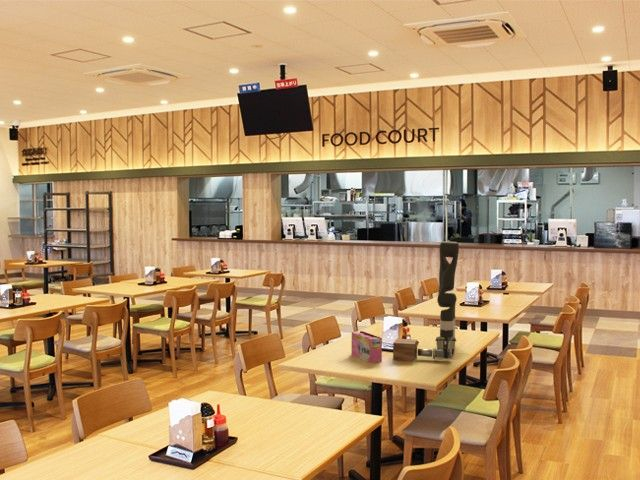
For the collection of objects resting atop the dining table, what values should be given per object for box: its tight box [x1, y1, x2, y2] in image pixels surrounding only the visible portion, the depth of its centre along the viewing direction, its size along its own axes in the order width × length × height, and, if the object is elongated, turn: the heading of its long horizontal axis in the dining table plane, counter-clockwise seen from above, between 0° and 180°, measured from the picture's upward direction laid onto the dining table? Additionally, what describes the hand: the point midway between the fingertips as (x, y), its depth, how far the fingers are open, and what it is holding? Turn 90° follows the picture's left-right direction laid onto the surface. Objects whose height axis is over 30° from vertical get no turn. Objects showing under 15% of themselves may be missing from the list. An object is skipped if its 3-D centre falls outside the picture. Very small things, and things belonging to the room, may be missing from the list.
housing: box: [392, 338, 418, 363], centre depth 381 cm, size 12×12×10 cm
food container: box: [434, 335, 457, 356], centre depth 392 cm, size 12×6×10 cm, turn 84°
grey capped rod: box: [417, 347, 453, 360], centre depth 376 cm, size 6×19×6 cm, turn 73°
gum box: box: [351, 330, 383, 364], centre depth 383 cm, size 24×8×14 cm, turn 26°
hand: (446, 356), depth 374 cm, fingers open, 7 cm apart
